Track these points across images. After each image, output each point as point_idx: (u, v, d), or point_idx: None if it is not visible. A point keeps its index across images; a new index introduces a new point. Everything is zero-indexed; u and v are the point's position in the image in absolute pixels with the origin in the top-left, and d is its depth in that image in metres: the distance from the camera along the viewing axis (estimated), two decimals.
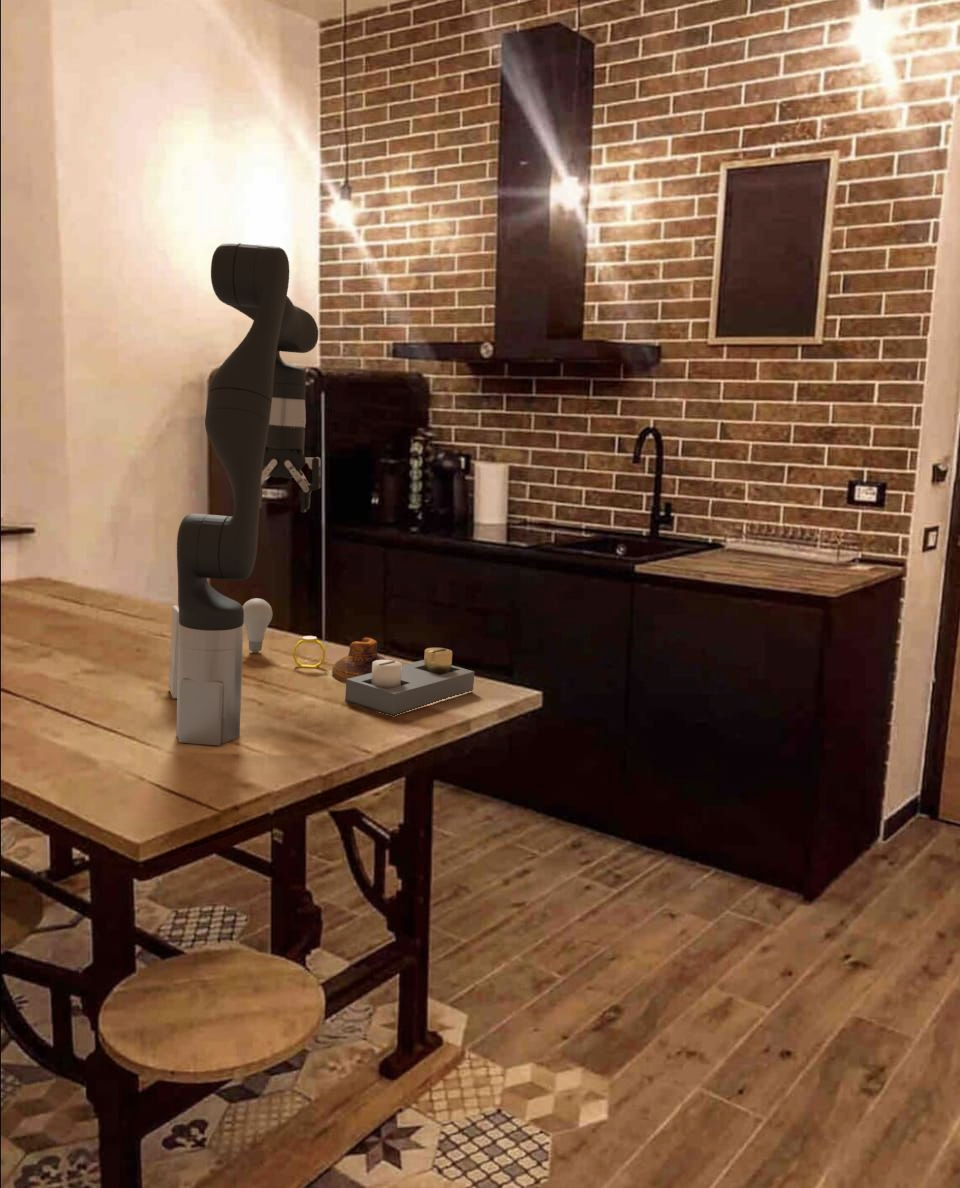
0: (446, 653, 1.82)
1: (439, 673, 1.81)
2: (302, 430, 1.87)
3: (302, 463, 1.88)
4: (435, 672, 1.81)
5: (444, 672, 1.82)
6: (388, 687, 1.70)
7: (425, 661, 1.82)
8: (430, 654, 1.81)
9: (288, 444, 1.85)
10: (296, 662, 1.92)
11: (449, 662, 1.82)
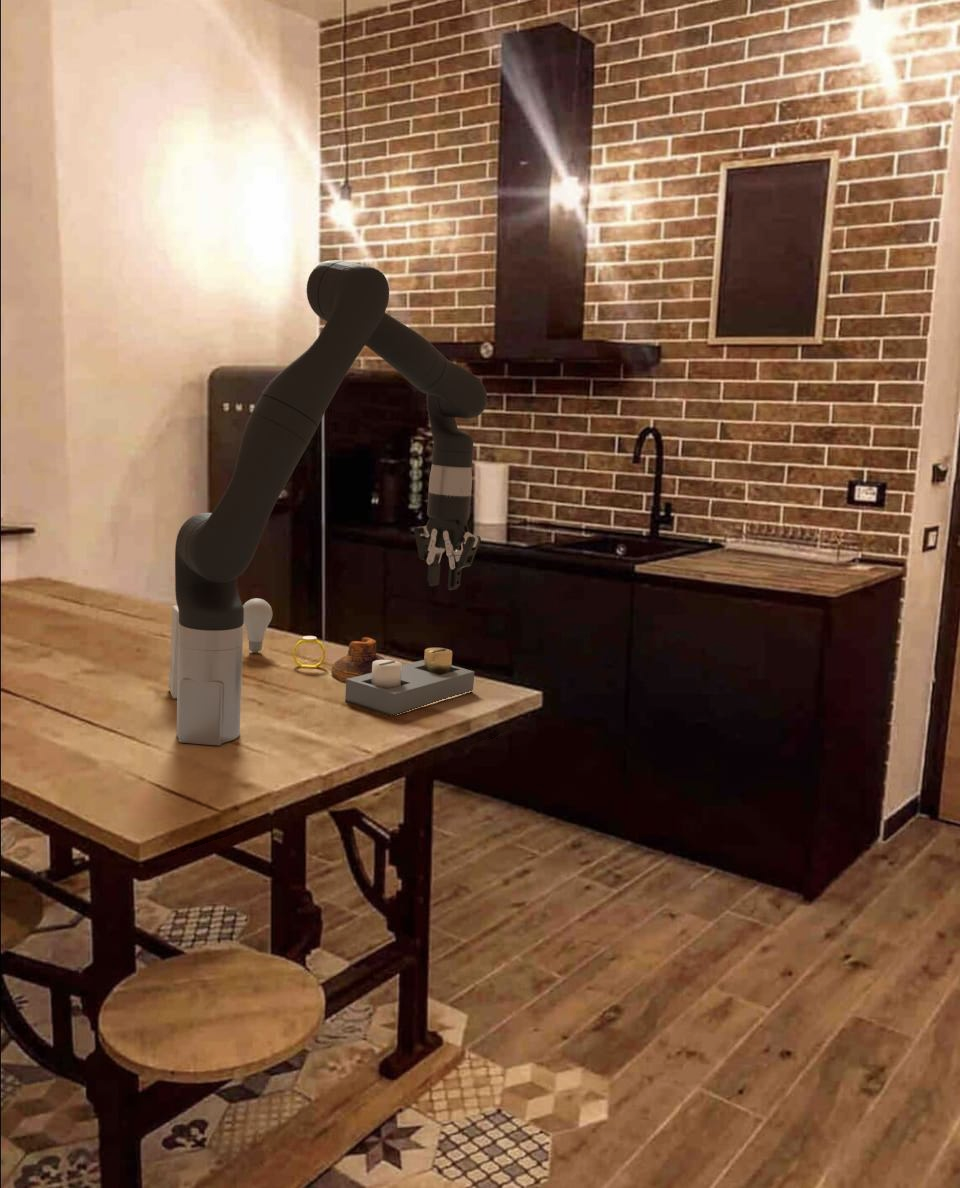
0: (446, 653, 1.82)
1: (439, 673, 1.81)
2: None
3: None
4: (435, 672, 1.81)
5: (444, 672, 1.82)
6: (388, 687, 1.70)
7: (425, 661, 1.82)
8: (430, 654, 1.81)
9: None
10: (296, 662, 1.92)
11: (449, 662, 1.82)
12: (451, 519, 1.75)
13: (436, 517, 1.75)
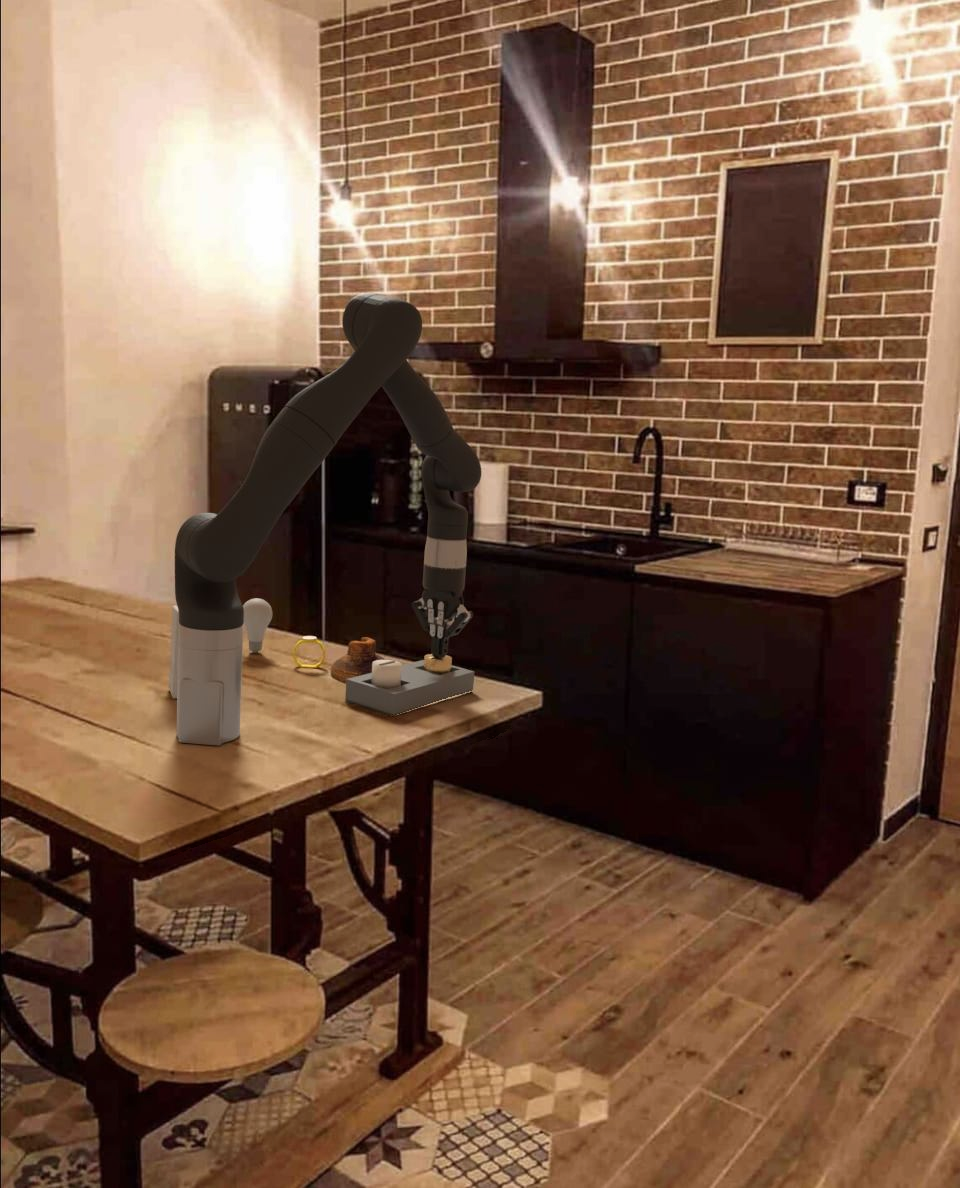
0: (446, 659, 1.82)
1: None
2: None
3: None
4: None
5: None
6: (388, 687, 1.70)
7: (425, 667, 1.83)
8: (430, 660, 1.81)
9: None
10: (296, 662, 1.92)
11: (449, 668, 1.82)
12: (446, 591, 1.77)
13: (431, 589, 1.78)
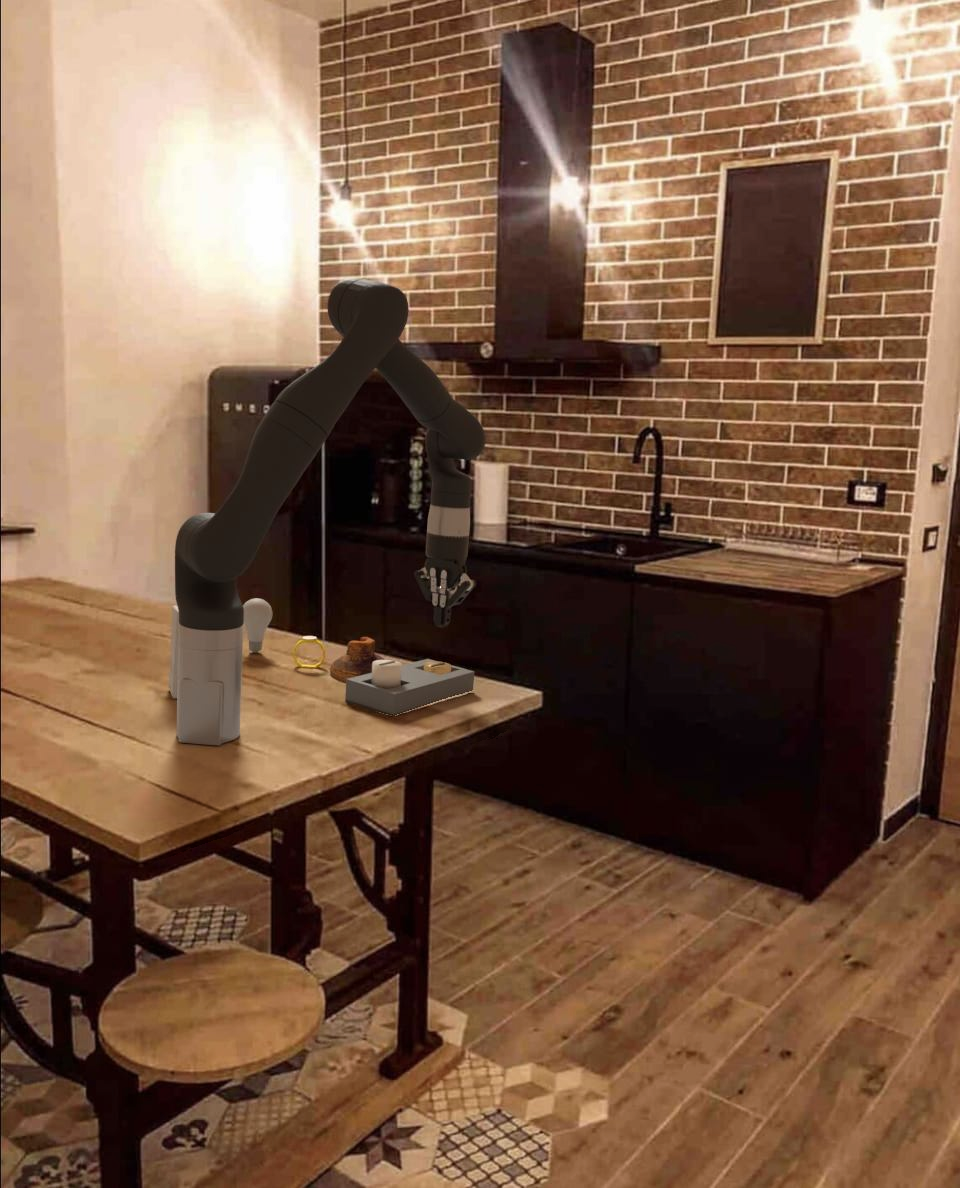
0: (445, 667, 1.82)
1: None
2: None
3: None
4: None
5: None
6: (388, 687, 1.70)
7: None
8: (429, 668, 1.82)
9: None
10: (296, 662, 1.92)
11: None
12: (449, 559, 1.77)
13: (434, 557, 1.77)
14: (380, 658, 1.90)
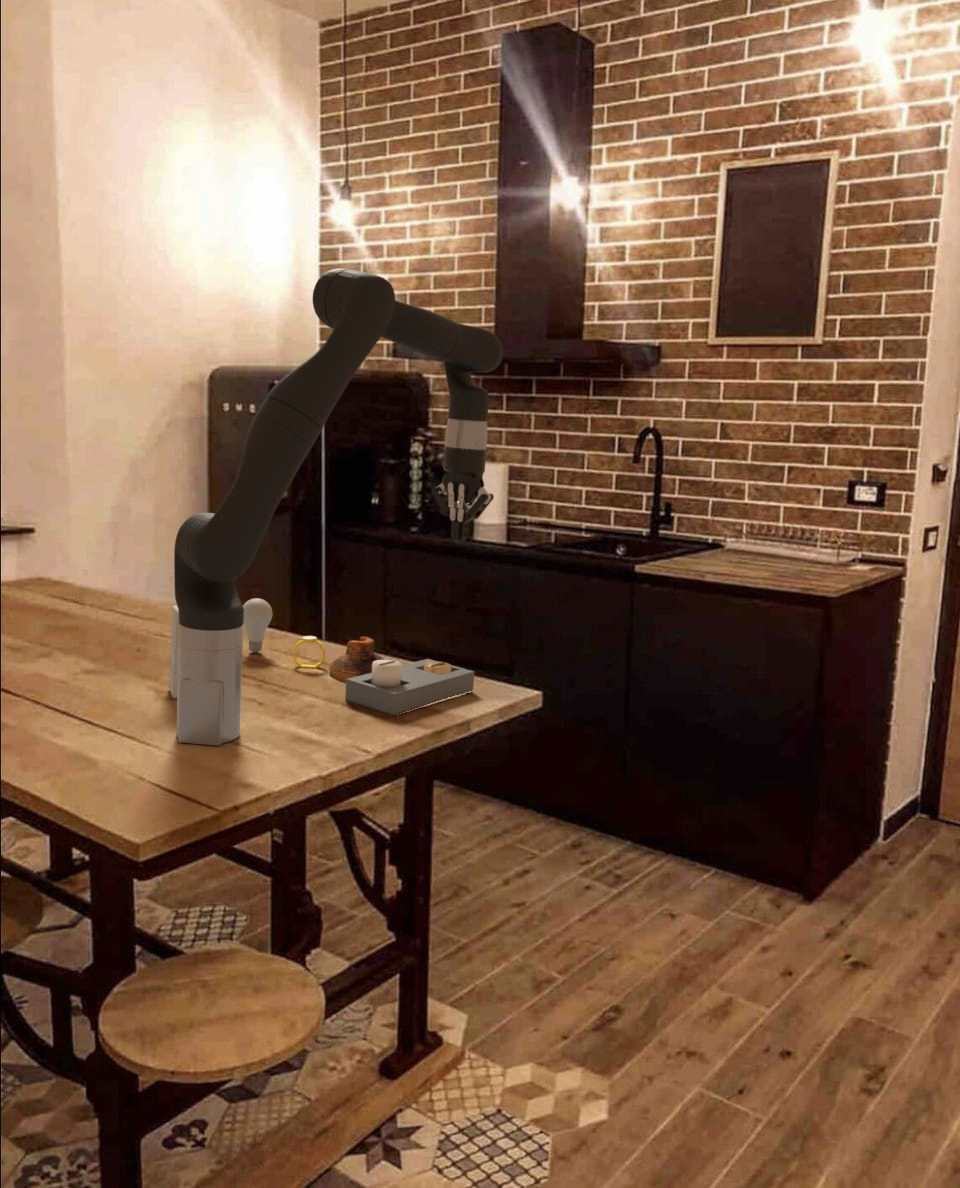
0: (445, 667, 1.82)
1: None
2: None
3: None
4: None
5: None
6: (388, 687, 1.70)
7: None
8: (429, 668, 1.82)
9: None
10: (296, 662, 1.92)
11: None
12: (467, 472, 1.78)
13: (452, 470, 1.78)
14: (379, 658, 1.90)
